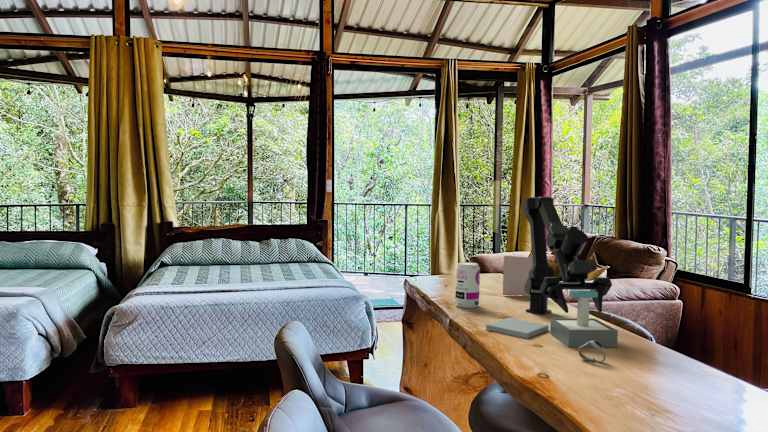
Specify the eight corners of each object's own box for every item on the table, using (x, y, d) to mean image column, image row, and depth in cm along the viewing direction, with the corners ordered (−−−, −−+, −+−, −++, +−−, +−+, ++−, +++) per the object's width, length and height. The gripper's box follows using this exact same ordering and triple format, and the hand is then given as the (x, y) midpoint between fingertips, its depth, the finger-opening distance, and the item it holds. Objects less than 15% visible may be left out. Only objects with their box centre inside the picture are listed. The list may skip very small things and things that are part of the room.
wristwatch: (604, 365, 125) (605, 344, 124) (576, 360, 128) (577, 340, 128) (606, 361, 128) (607, 340, 127) (579, 357, 131) (580, 336, 131)
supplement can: (480, 304, 190) (481, 262, 190) (476, 309, 182) (477, 265, 182) (457, 302, 193) (458, 261, 192) (453, 307, 185) (454, 264, 184)
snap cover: (555, 324, 151) (556, 287, 150) (593, 324, 151) (594, 287, 151) (570, 334, 140) (572, 295, 139) (611, 334, 140) (613, 295, 140)
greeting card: (532, 295, 208) (533, 257, 208) (526, 298, 202) (527, 259, 201) (504, 292, 214) (505, 255, 214) (497, 295, 208) (498, 257, 208)
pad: (508, 322, 165) (508, 317, 165) (548, 330, 156) (548, 325, 156) (485, 329, 155) (486, 324, 155) (526, 338, 146) (526, 333, 146)
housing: (550, 334, 152) (550, 318, 151) (594, 334, 152) (595, 318, 152) (568, 347, 139) (568, 330, 138) (617, 347, 139) (617, 330, 139)
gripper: (544, 248, 149) (558, 295, 138) (610, 249, 150) (628, 295, 139) (534, 272, 157) (547, 318, 146) (596, 272, 158) (613, 318, 147)
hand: (584, 312), depth 145 cm, fingers open, 9 cm apart
